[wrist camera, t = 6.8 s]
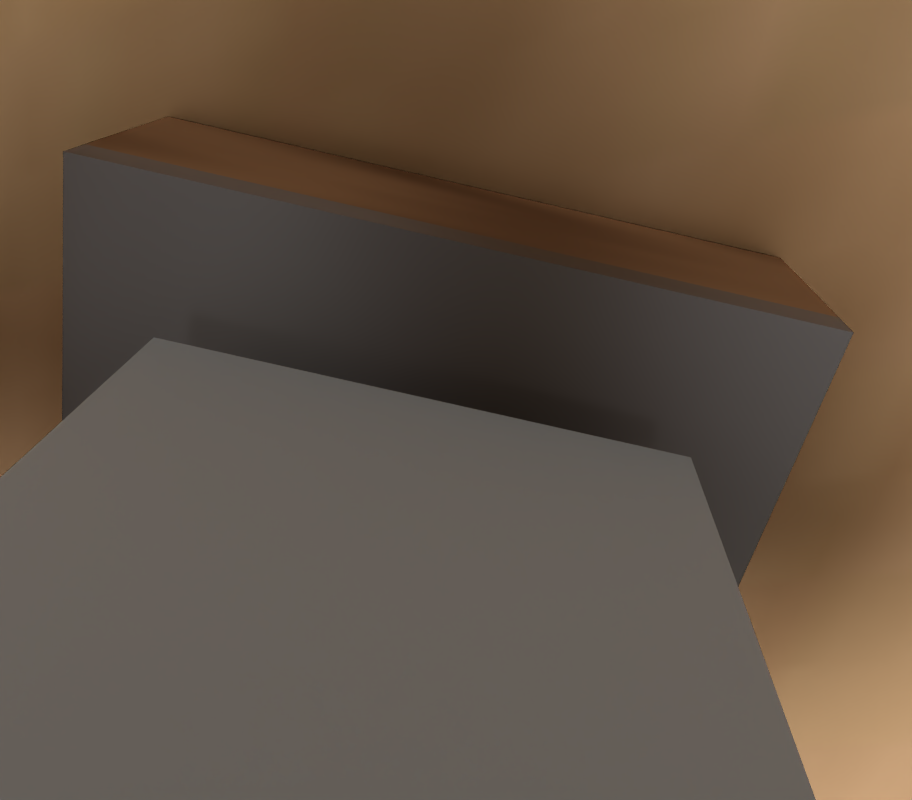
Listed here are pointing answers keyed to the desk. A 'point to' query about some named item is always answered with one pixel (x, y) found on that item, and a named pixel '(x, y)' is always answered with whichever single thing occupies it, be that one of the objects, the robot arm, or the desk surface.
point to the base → (446, 301)
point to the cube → (365, 604)
